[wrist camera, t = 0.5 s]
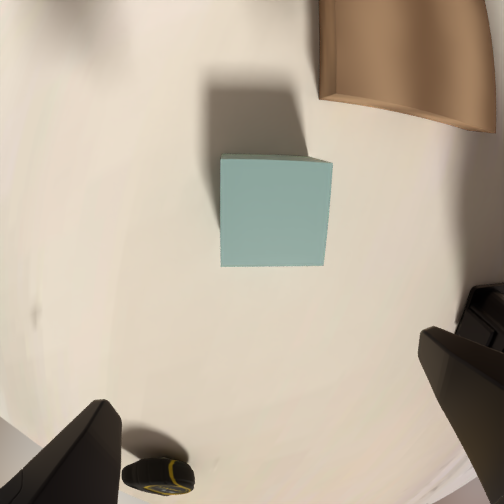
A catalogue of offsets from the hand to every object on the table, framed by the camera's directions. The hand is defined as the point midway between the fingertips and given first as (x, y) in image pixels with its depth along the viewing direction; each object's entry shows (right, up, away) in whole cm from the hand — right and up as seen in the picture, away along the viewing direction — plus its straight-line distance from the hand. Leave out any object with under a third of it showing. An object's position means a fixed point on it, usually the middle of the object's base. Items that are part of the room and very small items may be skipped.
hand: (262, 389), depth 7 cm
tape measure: (-13, -20, +19) cm, 31 cm away
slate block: (0, +7, +11) cm, 13 cm away
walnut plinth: (+10, +19, +7) cm, 22 cm away
